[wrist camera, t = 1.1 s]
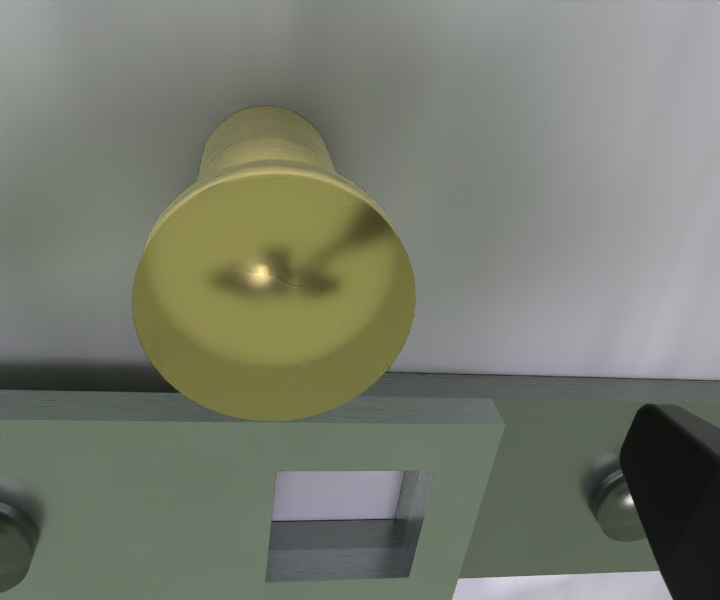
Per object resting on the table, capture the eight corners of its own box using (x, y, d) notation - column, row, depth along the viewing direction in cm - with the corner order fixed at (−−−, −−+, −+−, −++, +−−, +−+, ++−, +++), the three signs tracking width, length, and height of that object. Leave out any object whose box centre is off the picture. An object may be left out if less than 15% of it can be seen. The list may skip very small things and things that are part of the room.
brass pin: (365, 90, 16) (439, 189, 10) (343, 256, 18) (392, 422, 12) (176, 69, 15) (127, 162, 9) (175, 245, 17) (136, 419, 11)
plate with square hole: (728, 381, 22) (796, 445, 19) (648, 545, 26) (695, 617, 23) (-132, 359, 17) (-205, 441, 14) (-77, 566, 21) (-127, 662, 18)
